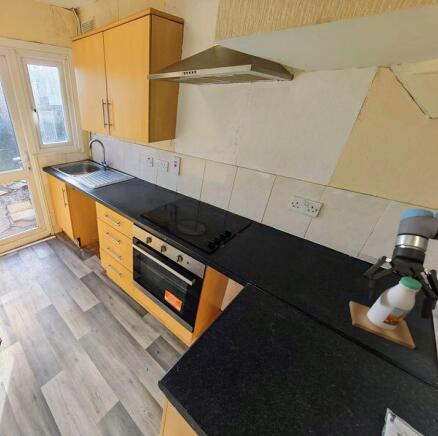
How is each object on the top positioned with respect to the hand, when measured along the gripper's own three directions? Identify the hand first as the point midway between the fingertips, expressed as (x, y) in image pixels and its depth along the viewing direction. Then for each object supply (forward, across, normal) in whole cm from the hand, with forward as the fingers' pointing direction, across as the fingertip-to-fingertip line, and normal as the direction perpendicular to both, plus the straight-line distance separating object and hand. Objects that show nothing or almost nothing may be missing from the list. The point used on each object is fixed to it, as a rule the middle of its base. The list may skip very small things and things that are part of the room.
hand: (396, 308), depth 76 cm
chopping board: (+6, 0, -10) cm, 11 cm away
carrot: (-7, -9, -23) cm, 26 cm away
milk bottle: (+5, 0, -9) cm, 10 cm away
